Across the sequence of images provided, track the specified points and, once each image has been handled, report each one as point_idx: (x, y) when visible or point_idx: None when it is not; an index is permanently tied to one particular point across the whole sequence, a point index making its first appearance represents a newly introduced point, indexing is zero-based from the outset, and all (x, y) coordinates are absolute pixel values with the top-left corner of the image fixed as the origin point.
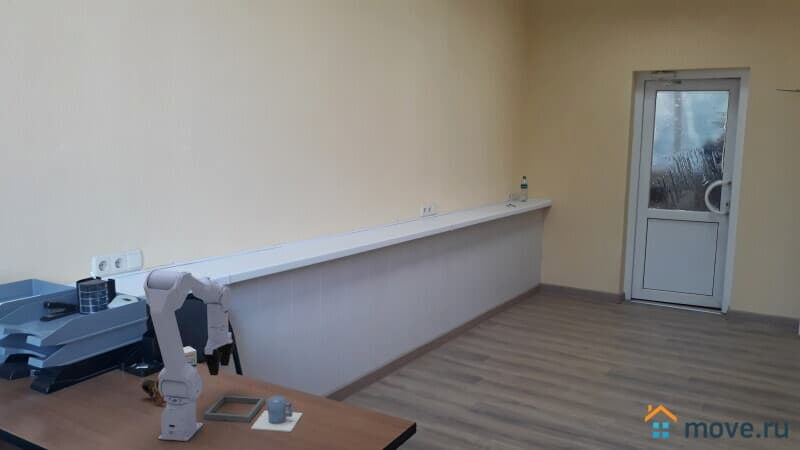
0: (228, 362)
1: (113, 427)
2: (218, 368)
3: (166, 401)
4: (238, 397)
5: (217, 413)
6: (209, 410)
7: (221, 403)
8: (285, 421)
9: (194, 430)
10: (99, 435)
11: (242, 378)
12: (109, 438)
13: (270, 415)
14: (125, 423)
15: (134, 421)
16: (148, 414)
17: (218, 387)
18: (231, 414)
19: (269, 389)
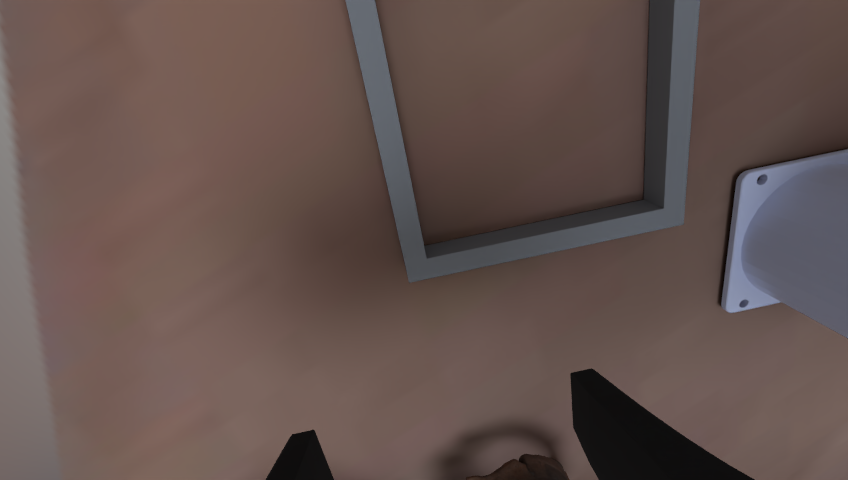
0: (296, 457)
1: (757, 474)
2: (628, 416)
3: (559, 465)
4: (404, 166)
5: (670, 150)
6: (633, 222)
7: (471, 239)
8: None
9: (831, 164)
10: (818, 468)
11: (64, 350)
12: (844, 430)
13: None
14: None
15: None
16: None
17: (262, 386)
18: (676, 47)
19: (99, 66)
